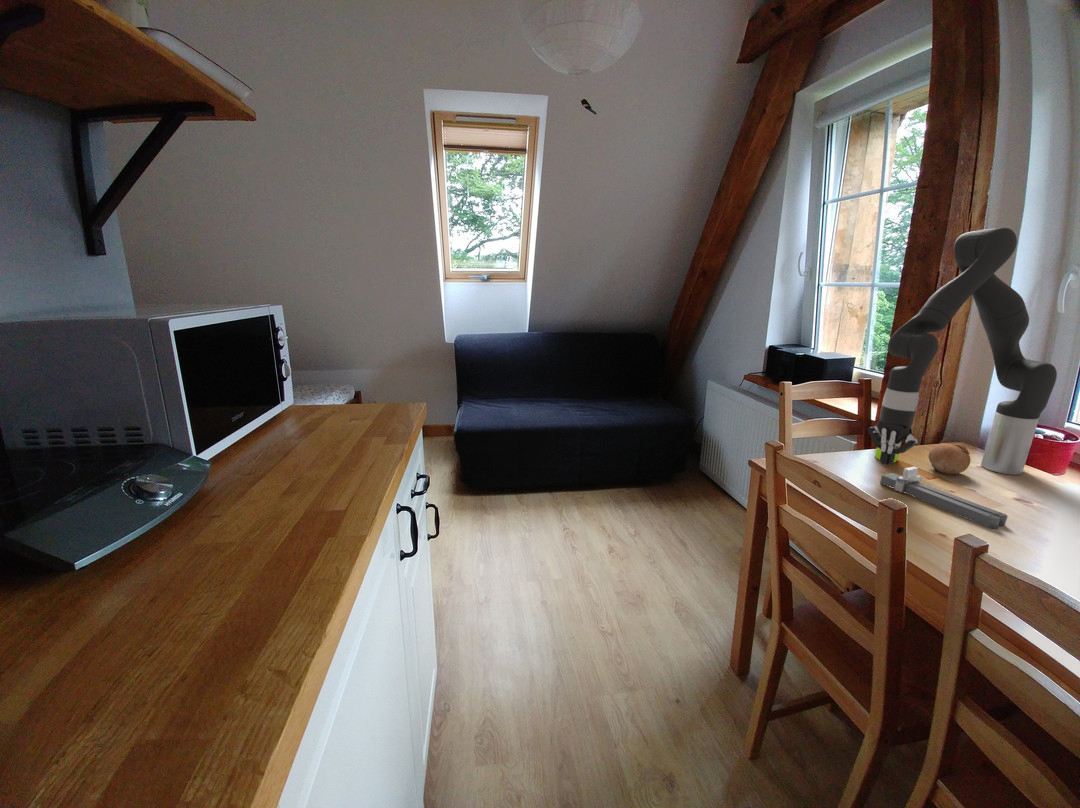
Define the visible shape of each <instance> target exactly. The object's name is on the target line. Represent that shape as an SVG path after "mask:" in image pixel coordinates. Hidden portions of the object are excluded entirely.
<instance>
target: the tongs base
mask: <svg viewBox="0 0 1080 808" xmlns="http://www.w3.org/2000/svg"><path fill="white" fill-rule="evenodd" d="M901 476H902V475H900V474H897V473H894V472H889V473H886V474H882V475H881V478H880V481H879V484H880V483H882V484H881V485H883V484H885V485H888V486H891V487H894V488H895V484H896V479H897V477H901ZM885 485H884V486H885ZM888 486H887V487H888ZM904 492H906V493H908V494H911V495H913V496H915V497H917V498H919V499H918V500H920V499H922V500H924V501H923V502H925V501H926V503H927V502H928V504H930V503H931V504H930V505H932V504H933V505H932V506H935V505H936V506H935V507H937V506H938V508H939V509H942V508H943V510H945V511H948V512H950V513H952V512H953V513H952V514H955V513H956V514H955V515H957V514H958V515H957V516H960V515H961V516H960V517H962V516H963V517H962V518H964V517H966V518H965V519H967V518H968V519H967V520H969V519H971V520H970V521H972V520H973V521H972V522H974V521H975V523H977V524H980V525H982V526H985V527H988V528H989V529H992V530H993V529H994V530H996V529H998V527H999V525H1000V524H999V521H1000V518H999V517H997V516H995V515H992V514H990V513H987V512H984V511H982V510H979V509H976V508H974V507H971V506H969V505H966V504H963V503H961V502H958V501H956V500H953V499H950V498H948V497H945V496H942V495H940V494H937V493H935V492H932V491H929V490H927V489H924V488H921V487H919V486H916V485H914V484H911V483H908V484H906V485H905V489H904ZM915 497H914V498H915ZM917 498H916V499H917ZM922 500H921V501H922Z"/></svg>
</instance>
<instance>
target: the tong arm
mask: <svg viewBox="0 0 1080 808" xmlns="http://www.w3.org/2000/svg"><path fill="white" fill-rule="evenodd" d="M911 484H914V485H916V486H919V487H921V488H924V489H927V490H929V491H932V492H935V493H937V494H940V495H942V496H945V497H948V498H950V499H953V500H956V501H958V502H961V503H963V504H966V505H969V506H971V507H974V508H976V509H979V510H982V511H984V512H987V513H990V514H992V515H995V516H997V517H999V518H1000V521H999V524H998V525H1000V526H1005V525H1006V523H1007V519H1008V517H1009V515H1007V514H1005V513H1003V512H1001V511H998V510H995V509H992V508H990V507H986V506H984V505H981V504H979V503H976V502H974V501H971V500H969V499H964V498H962V497H959V496H957V495H954V494H952V493H949V492H945V491H943V490H941V489H938V488H936V487H932V486H929V485H926V484H924V483H922V482H920V483H919V482H912V483H911Z"/></svg>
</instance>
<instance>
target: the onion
mask: <svg viewBox="0 0 1080 808" xmlns="http://www.w3.org/2000/svg"><path fill="white" fill-rule="evenodd" d="M970 454H971V453H970V451H969V450H968V448H967V447H966V446H965V445H963V444H961V443H949V442H942V443H938V444H935V445H934V446H933V447H932V448H931V449H930V451H929V452H928V459H929V463H931V467H933V469H934V470H935V472H940V473H943V474H944V475H949V476H950V475H951V476H952V475H959V474H961V473H962V472H965V471H966V470H967V469H968V468H969V466H970V464H971V456H970Z"/></svg>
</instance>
